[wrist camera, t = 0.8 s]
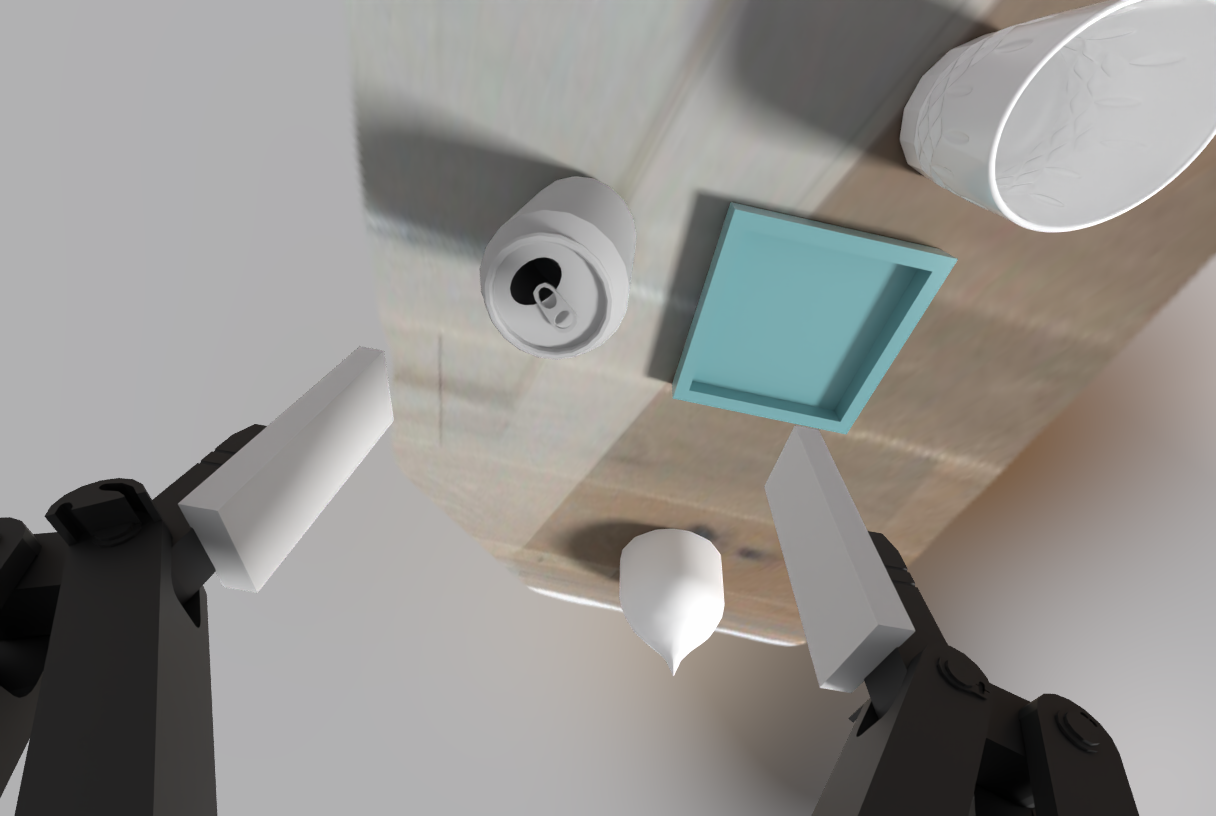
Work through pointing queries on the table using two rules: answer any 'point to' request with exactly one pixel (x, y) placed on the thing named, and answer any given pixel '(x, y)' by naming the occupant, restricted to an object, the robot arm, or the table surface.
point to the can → (561, 269)
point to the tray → (803, 317)
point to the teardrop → (671, 591)
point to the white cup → (1069, 111)
